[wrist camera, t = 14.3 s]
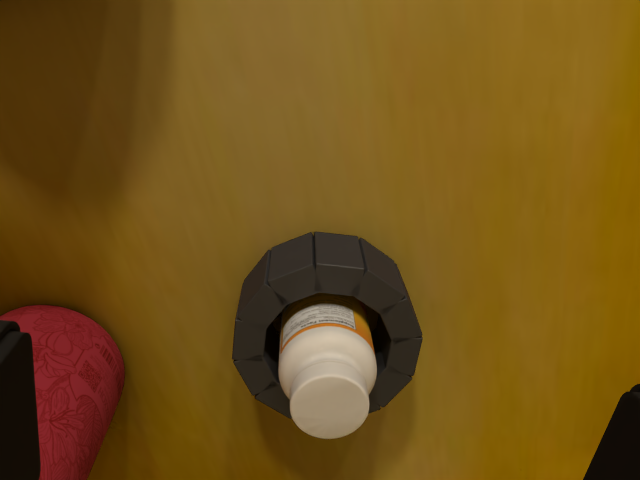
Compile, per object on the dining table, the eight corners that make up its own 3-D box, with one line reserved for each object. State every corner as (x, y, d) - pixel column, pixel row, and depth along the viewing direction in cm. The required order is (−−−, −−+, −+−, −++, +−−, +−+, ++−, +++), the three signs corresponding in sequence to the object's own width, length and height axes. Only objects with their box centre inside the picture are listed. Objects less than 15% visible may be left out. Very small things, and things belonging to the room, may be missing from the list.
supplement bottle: (357, 347, 38) (373, 455, 30) (277, 338, 38) (269, 445, 29) (372, 276, 36) (394, 370, 27) (287, 266, 36) (282, 358, 27)
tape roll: (235, 369, 39) (227, 414, 35) (248, 223, 35) (240, 255, 31) (391, 383, 40) (401, 429, 36) (422, 243, 35) (438, 276, 31)
